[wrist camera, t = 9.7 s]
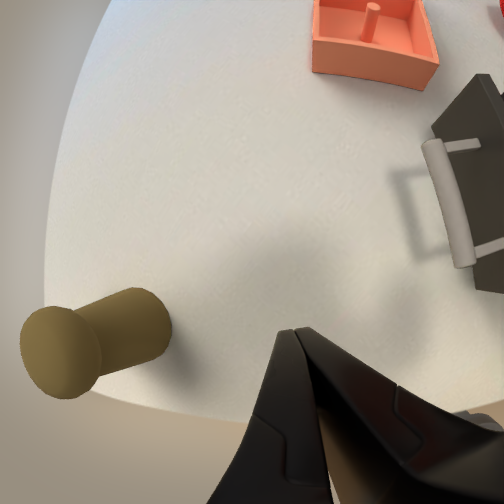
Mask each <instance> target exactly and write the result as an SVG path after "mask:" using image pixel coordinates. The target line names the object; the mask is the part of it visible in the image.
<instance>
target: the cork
mask: <svg viewBox="0 0 504 504" xmlns="http://www.w3.org/2000/svg"><path fill="white" fill-rule="evenodd" d="M170 338H171V322H170V318H169V315H168V312H167V310H166V308H165V307H164V305H163V303H162V302H161V301H160V300H159V299H158V298H157V297H156V296H155V295H154V294H153V293H151V292H149V291H147V290H145V289H143V288H133V287H132V288H129V289H126V290H122V291H120V292H118V293H115V294H113V295H110V296H108V297H105V298H103V299H101V300H98V301H96V302H93V303H91V304H88V305H86V306H84V307H81V308H79V309H76V310H74V311H73V310H71V309H67V308H62V307H57V306H50V307H45V308H42V309H39V310H37V311H35V312H34V313H32V314H31V315H30V317H29V318H28V319H27V320H26V322H25V323H24V325H23V327H22V330H21V333H20V349H21V356H22V359H23V362H24V365H25V368H26V370H27V372H28V374H29V376H30V378H31V379H32V380H33V382H34V383H35V384H36V385H37V387H38V388H40V389H41V390H42V391H43V392H44V393H45V394H48V395H50V396H52V397H54V398H58V399H73V398H77V397H79V396H80V395H82V394H84V393H85V392H87V391H89V390H90V389H91V388H92V386H93V385H94V384H95V382H96V381H97V379H98V377H99V376H103V375H106V374H109V373H113V372H116V371H119V370H123V369H126V368H129V367H132V366H136V365H139V364H142V363H145V362H148V361H151V360H154V359H156V358H157V357H159V356H161V355H162V354H163V353H164V351H165V350H166V349H167V347H168V345H169V342H170Z"/></svg>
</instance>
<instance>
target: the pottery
mask: <svg viewBox="0 0 504 504" xmlns="http://www.w3.org/2000/svg"><path fill="white" fill-rule="evenodd" d="M439 65H440V63H439V58H438V54H437V50H436V46H435V42H434V39H433V35H432V31H431V28H430V25H429V21H428V18H427V15H426V12H425V9H424V6H423V3H422V0H314V13H313V52H312V72H318V73H327V74H336V75H343V76H351V77H357V78H363V79H369V80H375V81H380V82H385V83H390V84H395V85H400V86H404V87H408V88H412V89H416V90H420V91H423V90H424V89H425V87H426V86H427V84H428V82H429V81H430V79H431V78H432V76H433V75H434V73H435V71H436V70H437V68H438V67H439Z"/></svg>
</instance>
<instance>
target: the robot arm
mask: <svg viewBox="0 0 504 504" xmlns="http://www.w3.org/2000/svg"><path fill="white" fill-rule="evenodd" d="M328 471H329V474H330V477H331V479H332V482H333V484H334V487H335V490H336V493H337V495H338V498H339V501H340V504H504V432H500V431H495V430H489V429H486V428H483V427H480V426H478V425H476V424H474V423H471V422H469V421H467V420H464V419H462V418H460V417H458V416H455V415H453V414H451V413H449V412H447V411H445V410H442V409H440V408H438V407H436V406H434V405H432V404H430V403H428V402H426V401H425V400H423V399H421V398H419V397H418V396H416V395H414V394H413V393H411V392H409V391H408V390H406V389H404V388H403V387H401V386H397V384H396V383H395V382H393V381H391V380H390V379H388V378H387V377H385V376H383V375H382V374H380V373H379V372H377V371H376V370H374V369H373V368H371V367H369V366H368V365H366V364H365V363H363V362H362V361H360V360H359V359H357V358H355V357H354V356H352V355H351V354H349V353H348V352H346V351H345V350H343V349H342V348H340V347H339V346H337V345H336V344H334V343H333V342H331V341H330V340H328V339H327V338H325V337H323V336H322V335H320V334H319V333H317V332H316V331H314V330H313V329H311V328H310V327H303V328H296V329H295V330H292V329H289V330H281V331H279V332H278V334H277V337H276V341H275V344H274V347H273V351H272V354H271V357H270V360H269V364H268V367H267V370H266V373H265V376H264V379H263V382H262V386H261V389H260V392H259V395H258V398H257V401H256V404H255V407H254V410H253V413H252V416H251V418H250V421H249V424H248V427H247V430H246V432H245V435H244V437H243V440H242V442H241V444H240V447H239V448H238V451H237V452H236V454H235V456H234V458H233V460H232V462H231V464H230V465H229V467H228V469H227V471H226V472H225V474H224V476H223V477H222V479H221V481H220V482H219V484H218V486H217V487H216V489H215V491H214V492H213V494H212V495H211V497H210V499H209V500H208V502H207V503H206V504H334V502H333V498H332V493H331V489H330V488H331V486H330V480H329V474H328Z"/></svg>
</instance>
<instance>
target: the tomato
mask: <svg viewBox="0 0 504 504" xmlns="http://www.w3.org/2000/svg"><path fill="white" fill-rule="evenodd" d="M500 7H501V11H502V15H503V17H504V0H500Z"/></svg>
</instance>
